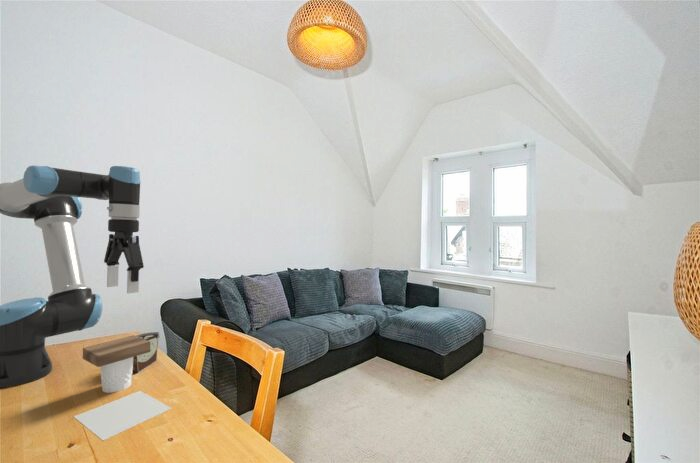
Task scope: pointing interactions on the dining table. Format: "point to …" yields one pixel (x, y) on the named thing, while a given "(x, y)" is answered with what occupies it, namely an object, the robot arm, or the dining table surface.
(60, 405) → the dining table surface
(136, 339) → the walnut board
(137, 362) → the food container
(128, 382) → the white cup
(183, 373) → the dining table surface
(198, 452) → the dining table surface
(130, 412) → the rubber mat
